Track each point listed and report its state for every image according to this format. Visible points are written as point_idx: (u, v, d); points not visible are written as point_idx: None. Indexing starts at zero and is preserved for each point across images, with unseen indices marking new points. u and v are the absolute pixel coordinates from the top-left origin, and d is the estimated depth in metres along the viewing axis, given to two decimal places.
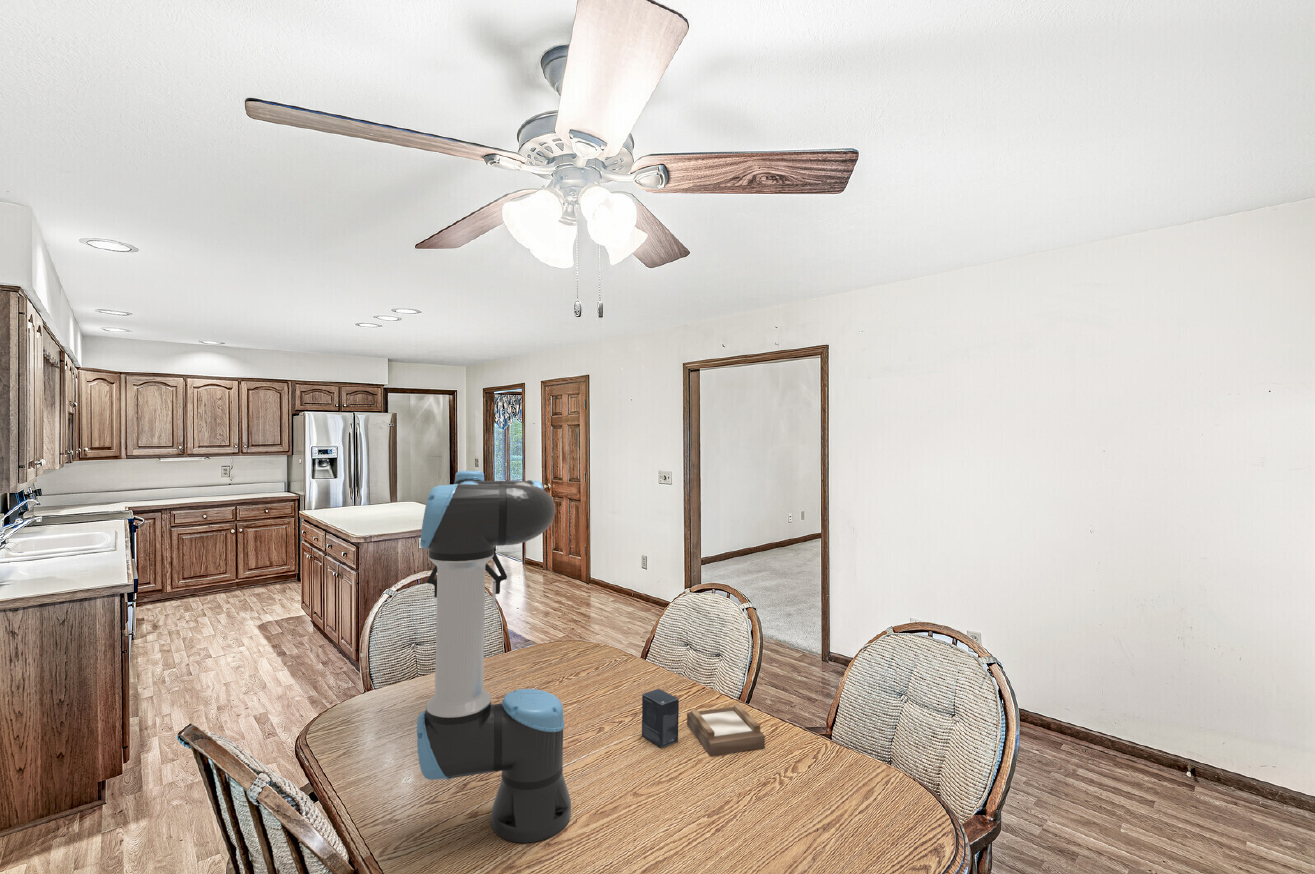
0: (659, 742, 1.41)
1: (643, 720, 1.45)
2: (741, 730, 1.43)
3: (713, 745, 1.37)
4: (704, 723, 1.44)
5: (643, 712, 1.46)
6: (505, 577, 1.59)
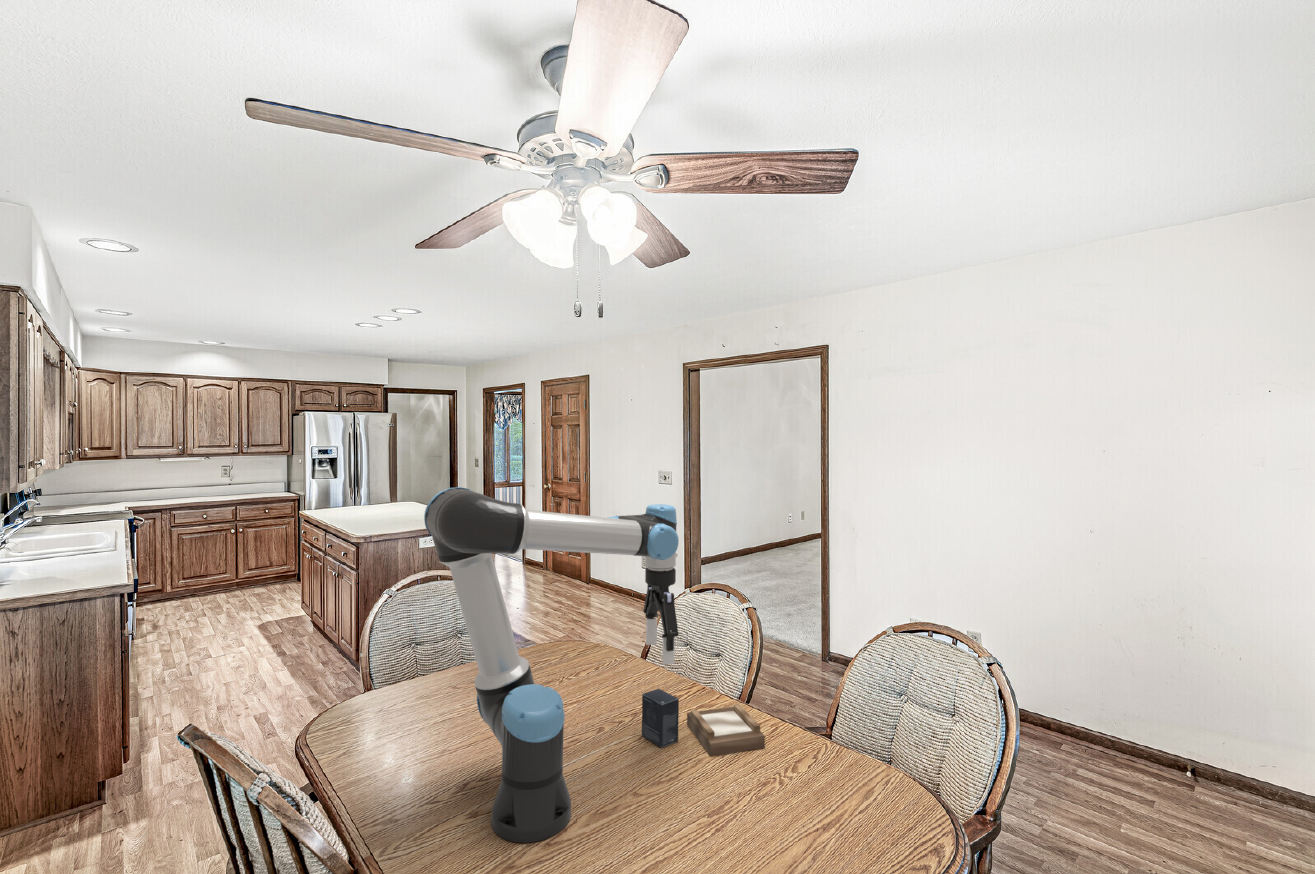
0: (659, 742, 1.41)
1: (643, 720, 1.45)
2: (741, 730, 1.43)
3: (713, 745, 1.37)
4: (704, 723, 1.44)
5: (643, 712, 1.46)
6: (667, 634, 1.36)
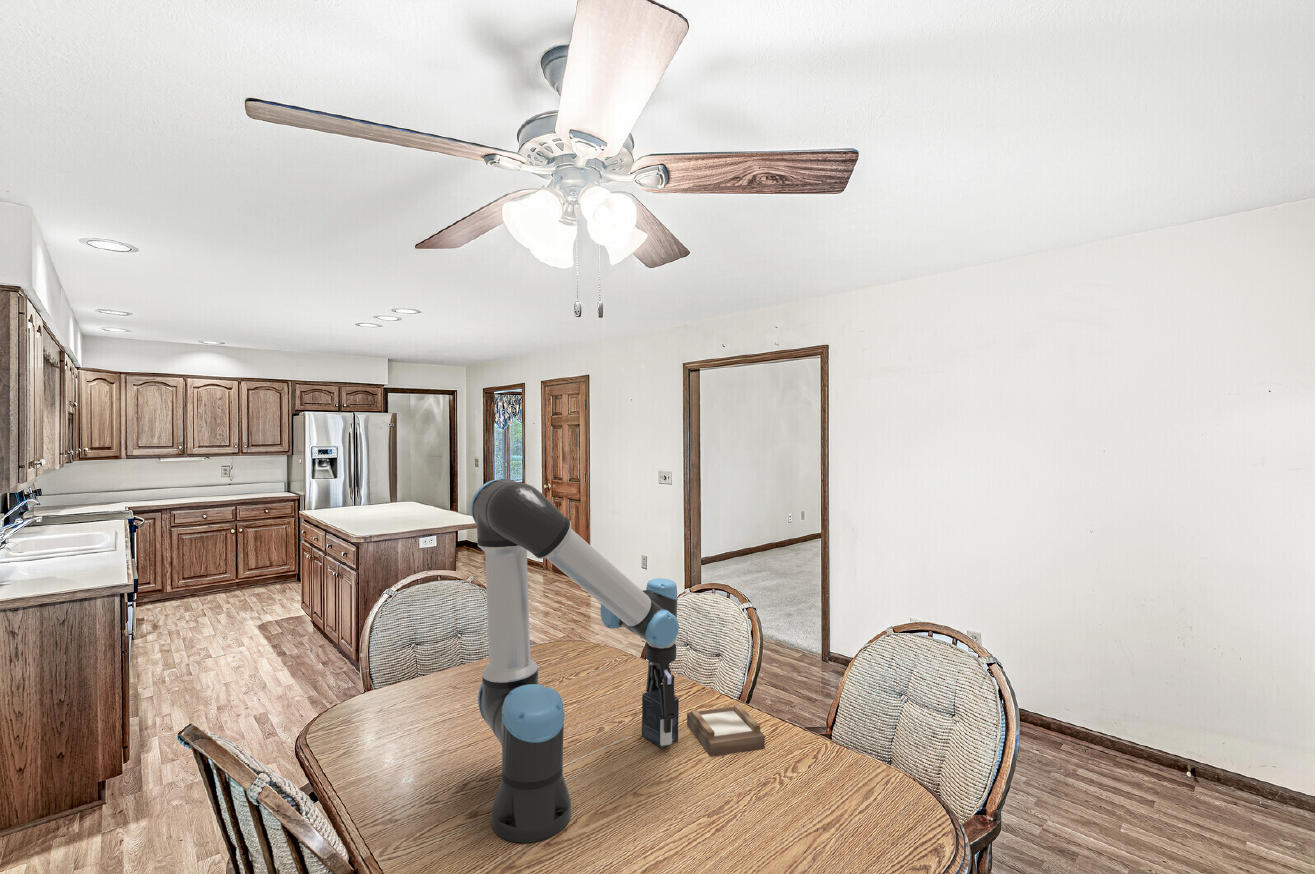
0: (659, 742, 1.41)
1: (643, 720, 1.45)
2: (741, 730, 1.43)
3: (713, 745, 1.37)
4: (704, 723, 1.44)
5: (643, 712, 1.46)
6: (665, 717, 1.37)
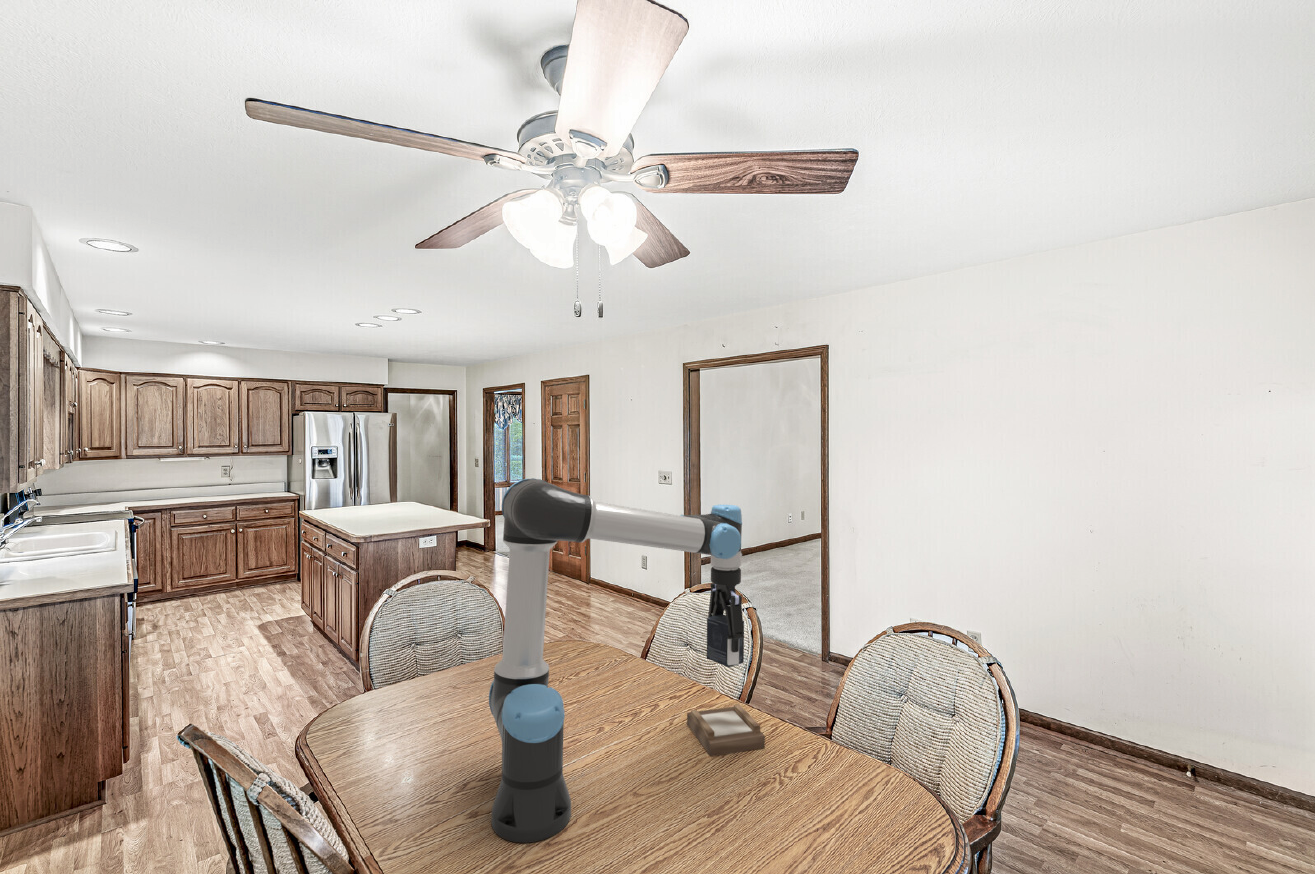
0: (726, 662, 1.43)
1: (708, 643, 1.47)
2: (741, 730, 1.43)
3: (713, 745, 1.37)
4: (704, 723, 1.44)
5: (708, 635, 1.48)
6: (733, 636, 1.39)
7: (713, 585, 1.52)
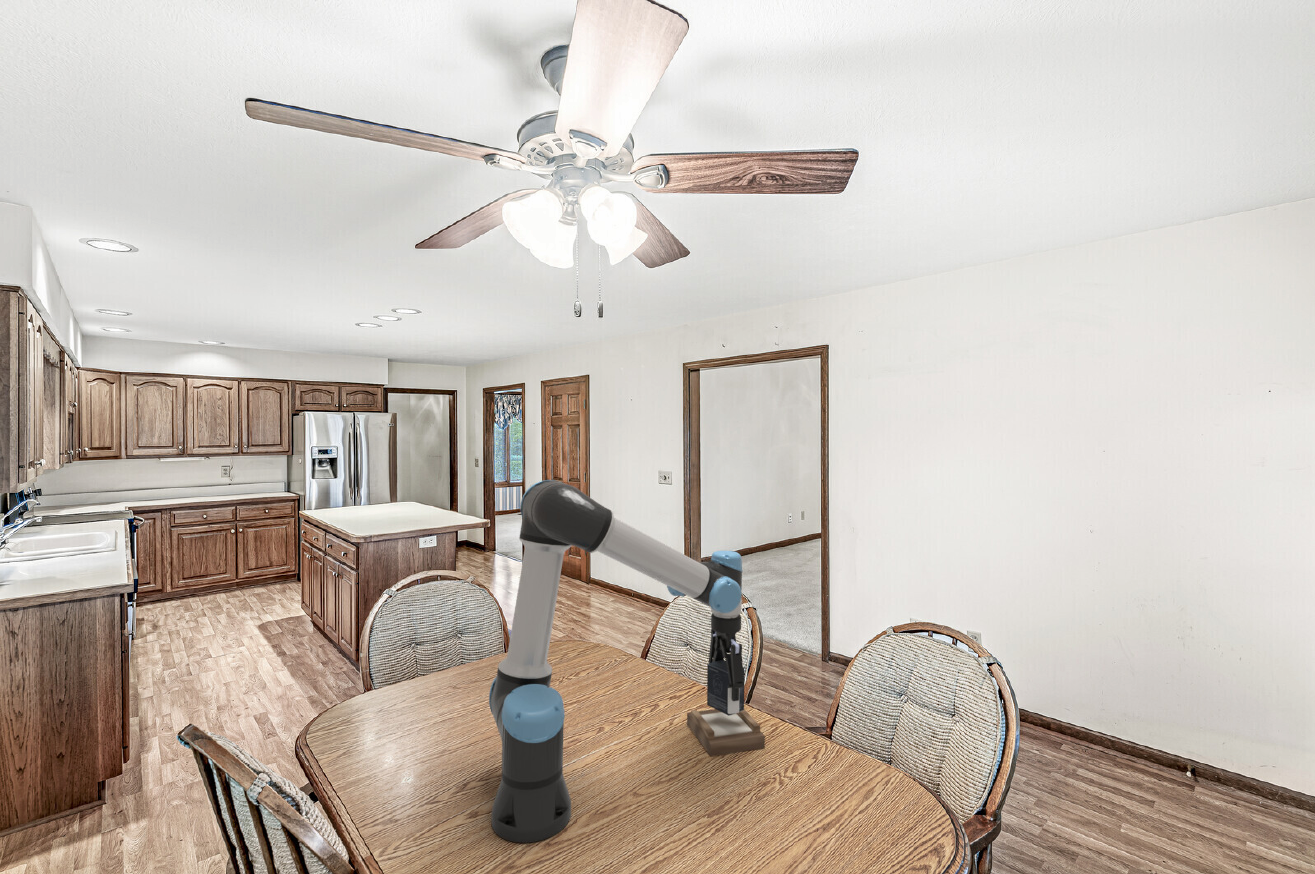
0: (727, 710, 1.43)
1: (708, 690, 1.47)
2: (741, 730, 1.43)
3: (713, 745, 1.37)
4: (704, 723, 1.44)
5: (708, 682, 1.47)
6: (734, 685, 1.39)
7: (713, 630, 1.52)
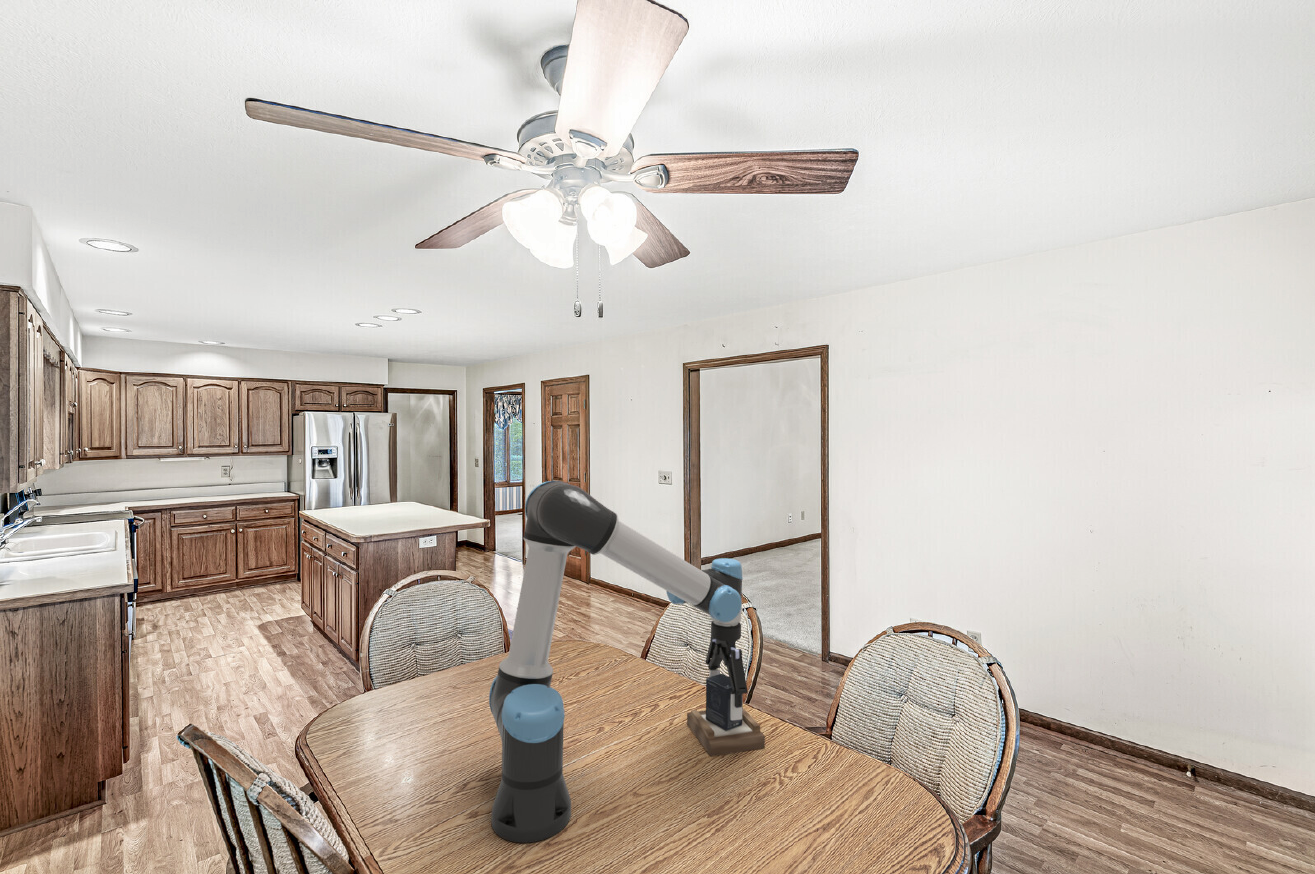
0: (724, 725, 1.43)
1: (707, 704, 1.48)
2: (741, 730, 1.43)
3: (713, 745, 1.37)
4: (704, 723, 1.44)
5: (707, 696, 1.48)
6: (737, 691, 1.37)
7: None
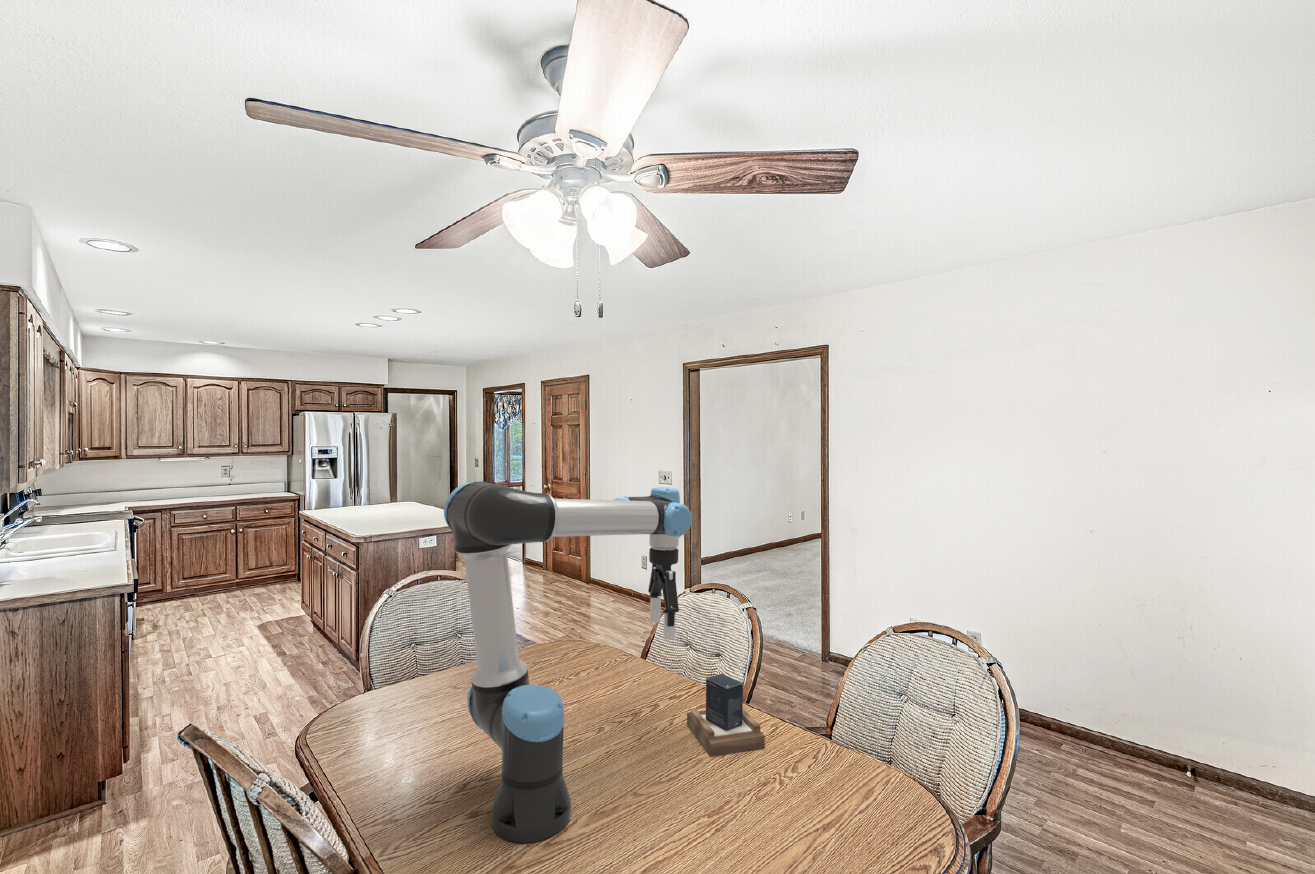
0: (724, 725, 1.43)
1: (707, 704, 1.48)
2: (741, 730, 1.43)
3: (713, 745, 1.37)
4: (704, 723, 1.44)
5: (707, 696, 1.48)
6: (668, 609, 1.42)
7: (654, 563, 1.57)
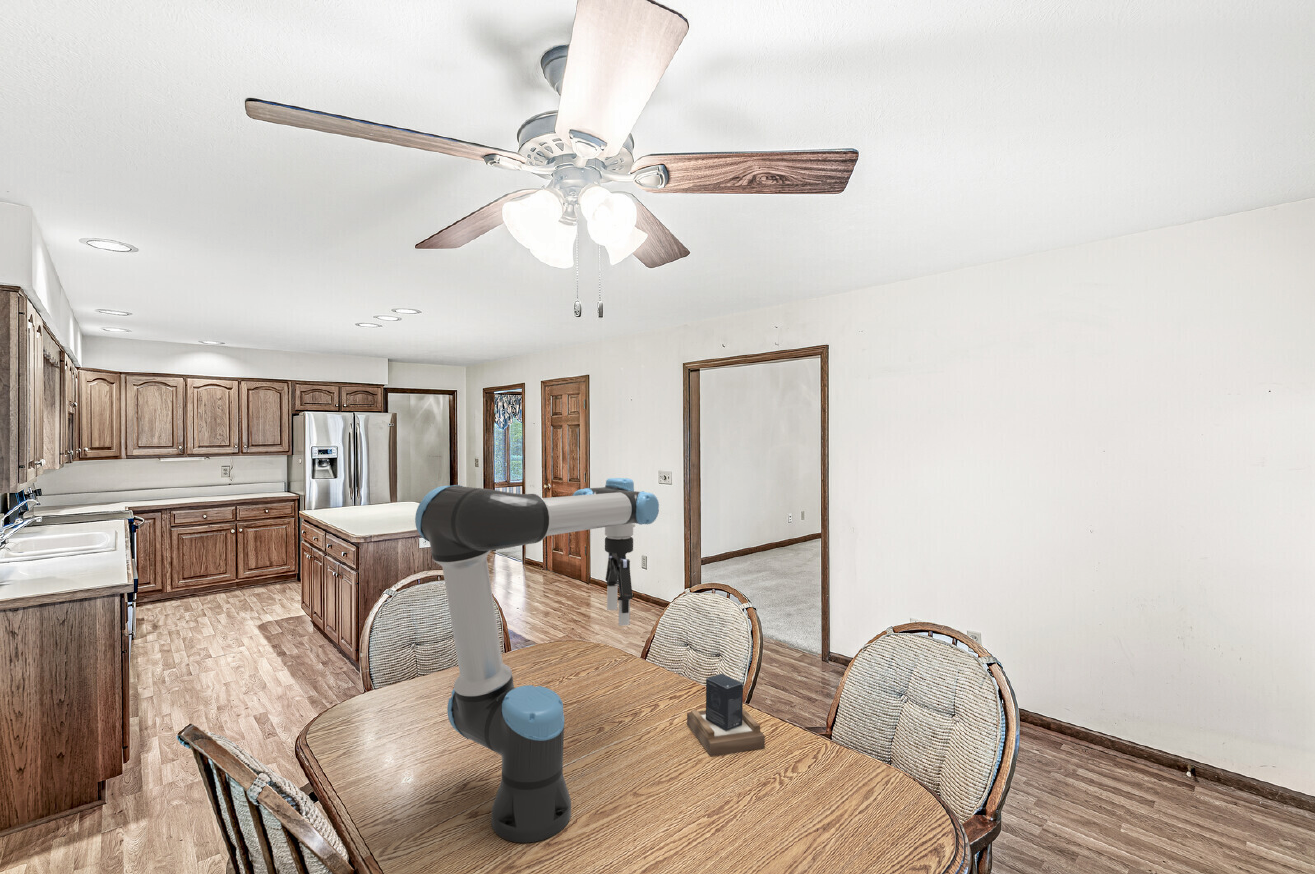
0: (724, 725, 1.43)
1: (707, 704, 1.48)
2: (741, 730, 1.43)
3: (713, 745, 1.37)
4: (704, 723, 1.44)
5: (707, 696, 1.48)
6: (622, 596, 1.45)
7: (610, 552, 1.60)
